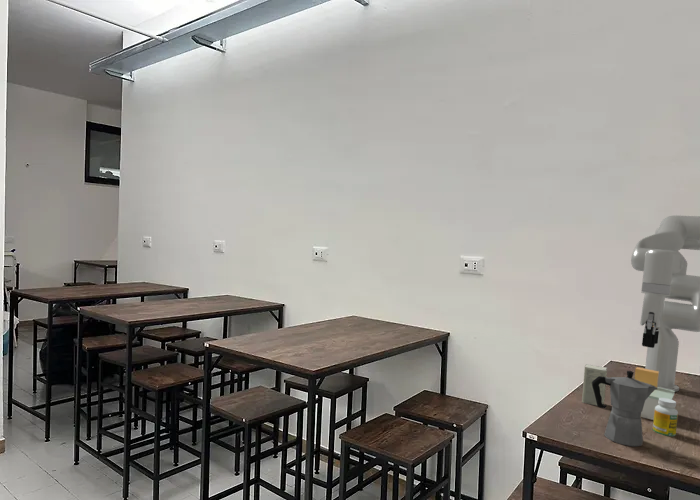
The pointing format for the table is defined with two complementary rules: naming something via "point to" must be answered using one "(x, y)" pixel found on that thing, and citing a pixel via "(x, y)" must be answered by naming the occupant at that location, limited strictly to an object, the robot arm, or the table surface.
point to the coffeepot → (624, 407)
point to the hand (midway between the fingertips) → (649, 344)
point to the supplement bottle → (665, 417)
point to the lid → (653, 383)
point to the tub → (649, 408)
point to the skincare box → (590, 375)
